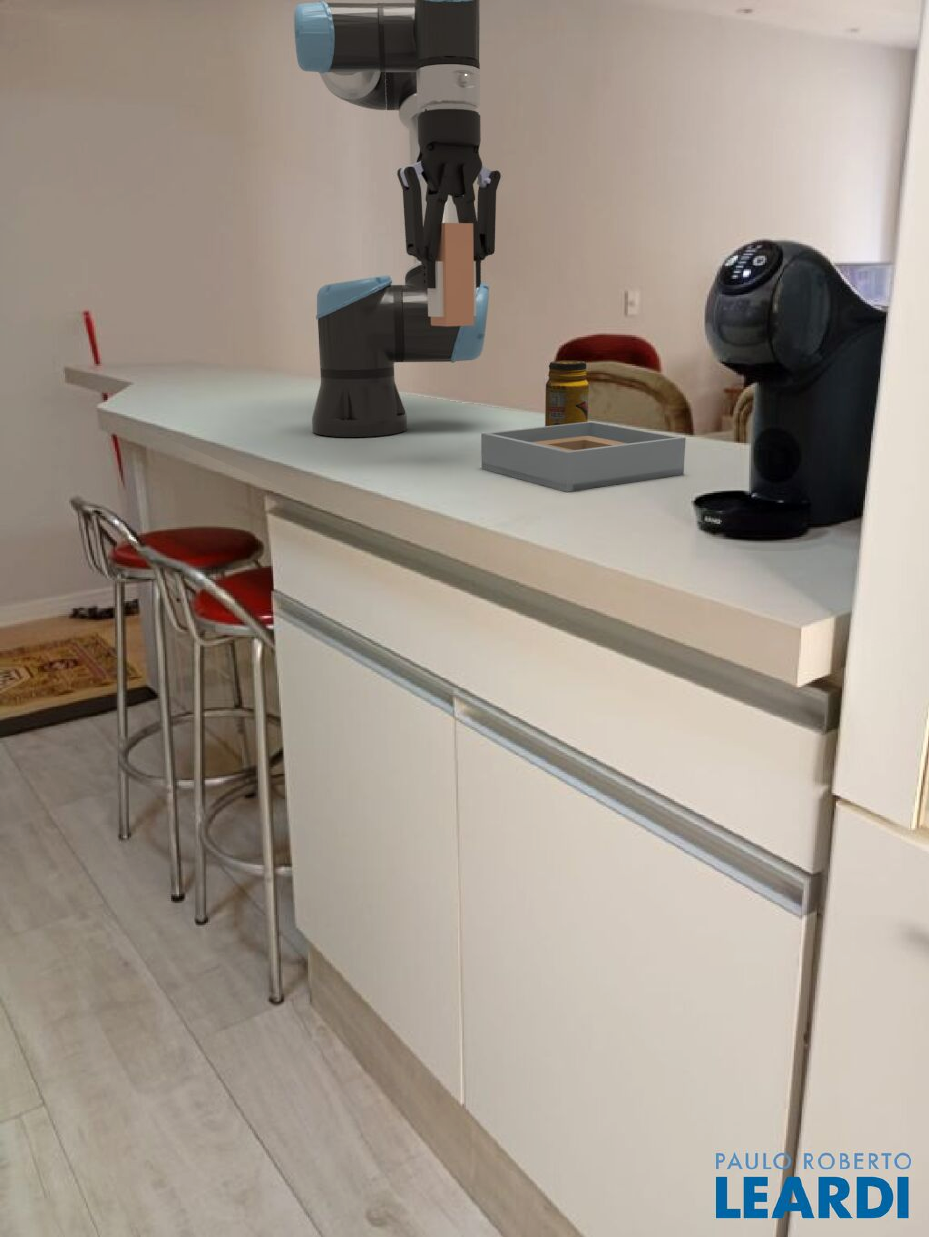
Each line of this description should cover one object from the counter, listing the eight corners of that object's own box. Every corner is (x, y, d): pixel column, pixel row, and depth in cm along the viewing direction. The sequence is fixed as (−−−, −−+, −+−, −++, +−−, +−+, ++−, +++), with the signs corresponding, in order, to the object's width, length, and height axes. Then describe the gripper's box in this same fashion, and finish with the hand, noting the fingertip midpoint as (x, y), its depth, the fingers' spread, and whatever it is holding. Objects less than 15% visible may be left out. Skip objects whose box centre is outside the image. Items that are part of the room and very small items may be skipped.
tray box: (481, 468, 129) (481, 433, 128) (591, 454, 138) (592, 421, 137) (567, 491, 115) (567, 452, 113) (683, 474, 124) (685, 437, 122)
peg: (430, 325, 128) (428, 224, 124) (457, 324, 130) (456, 224, 126) (446, 326, 125) (444, 222, 121) (474, 325, 127) (473, 223, 123)
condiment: (599, 448, 143) (602, 361, 139) (552, 454, 139) (554, 365, 135) (567, 441, 149) (569, 358, 145) (521, 447, 145) (521, 361, 141)
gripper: (400, 100, 112) (406, 318, 120) (525, 111, 121) (524, 314, 128) (370, 110, 119) (378, 317, 126) (492, 119, 127) (492, 313, 134)
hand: (452, 315), depth 127 cm, fingers closed on peg, 4 cm apart
